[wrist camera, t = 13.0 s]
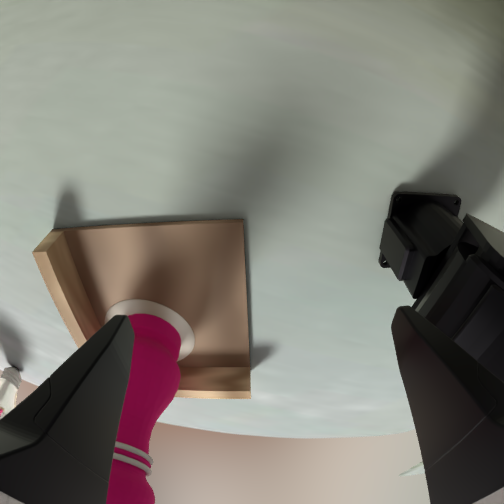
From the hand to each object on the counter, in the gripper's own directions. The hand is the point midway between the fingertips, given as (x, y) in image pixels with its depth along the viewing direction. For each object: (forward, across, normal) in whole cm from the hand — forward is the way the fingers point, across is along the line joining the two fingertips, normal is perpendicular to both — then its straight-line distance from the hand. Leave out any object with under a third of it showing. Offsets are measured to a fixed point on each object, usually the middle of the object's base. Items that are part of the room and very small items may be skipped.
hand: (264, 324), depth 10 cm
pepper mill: (+13, +10, +15) cm, 22 cm away
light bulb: (+13, +37, +26) cm, 47 cm away
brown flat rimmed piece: (+13, +9, +12) cm, 20 cm away
